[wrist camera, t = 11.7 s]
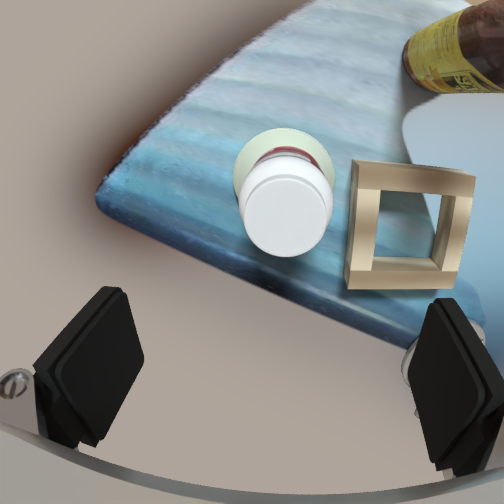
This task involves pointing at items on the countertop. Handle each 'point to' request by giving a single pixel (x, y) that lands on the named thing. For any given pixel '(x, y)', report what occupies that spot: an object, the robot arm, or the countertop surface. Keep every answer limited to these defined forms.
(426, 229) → the countertop surface
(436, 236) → the wooden square frame
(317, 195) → the pill bottle
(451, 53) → the sauce bottle
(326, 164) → the saucer
